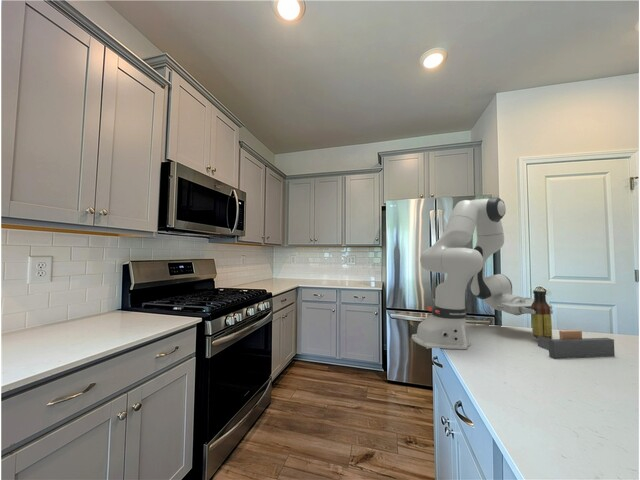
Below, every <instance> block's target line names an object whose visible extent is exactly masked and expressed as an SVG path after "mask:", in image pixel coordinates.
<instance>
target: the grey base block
mask: <svg viewBox="0 0 640 480" xmlns="http://www.w3.org/2000/svg"><path fill="white" fill-rule="evenodd" d="M537 346H538V347H540V348H542V349H545V350H548V356H549V358H552V359H554V360H556V359H558V360H559V359H581V358H582V359H583V358H585V359H587V358H588V359H589V358H608V357H609V358H610V357H615V353H616V352H615V339H613V338H611V337H590V338H589V337H588V338H587V337H586V338H583V337H582V339H560V338H556V339H553V338H552V339H550V338H547V337H544V336H538V339H537Z"/></svg>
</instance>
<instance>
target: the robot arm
mask: <svg viewBox="0 0 640 480" xmlns="http://www.w3.org/2000/svg"><path fill="white" fill-rule="evenodd" d="M506 209H507V208H506V204H505V202H504V200H503V199H501V198H500V197H489V198H477V199H471V200H469V199H464V200H461V201H458V202H457V203H456V205H455V206H454V207H453V209H452V211H451V213H450V215H449V218H448V219H447V223H446V226H445V227H444V228H445V229H444V231H443V233H442V234H441V236H440V237H439V238H438V239H437V241H436V242H435V243H434V244H433V245H431V246H430V247H428V248H427V249H425V250H423V251H422V253H421V255H420V258H419V259H420V260H419V262H420V265H421V267H422V268H423V270H426V271H429V272H432V273H436V274H437V273H439V274H446V278H445V281H442V282H441V283H439V284H438V285H436V287H435V291H434V292H435V304H434V307H432V306H430V305H428V306H427V307H426V310H427V311H428V312H431V314H430V315H429V316H427V317H426V318H425V319H424V320H422V321H421V322H420V323H418V326H417V329H416V333H413V334H412V335H411V339H412V341H414V342H415V343H417V344H418V345H420V346H422V347H425V348H427V349H444V350H445V349H449V350H468V347H469V346H470V345H471V342H470V338H469V335H468V330H467V308H466V290H467V286H468V284H469V282H470V287H469V288H470V291H471V294H472V295H473V296H474V297H476V298H478V299H480V300H483V302H484V303H485V305H487V306H488V307H489V308H492V309H494V310H497V311H500V312H504V313H507V314H511V315H512V316H521V315H525V314H526V315H529V314H530V315H531V314H536V310H534V309H531V305H532V303H533V302H534V298H532V297H531V298H530V297H523V296H519V295H513V284H512V280H511V279H509V277H507V276H506V275H504V274H502V273H497V274H493V275H489V276H486V262H487V260H488V259H489V258H490V257H491V256H492V255H494V254H495V253H497V252H498V251H499V250H500V249H501V248H503V245H504V244H505V234H504V228H503V224H502V219H503V217H504V216H505V215H506ZM475 231H476V244H475V246H474V248H470V247H469V248H468V247H464V246H467V245H468V244H469V243H470V242H471V241H472V240H473V236H474V232H475ZM547 304H548V305H549V306H550V314H551V315H553V314H554V310H553V305H552V304H550V303H547Z"/></svg>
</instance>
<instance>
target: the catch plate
mask: <svg viewBox="0 0 640 480" xmlns="http://www.w3.org/2000/svg"><path fill="white" fill-rule="evenodd" d="M558 333H559V339H582V338H583V331H582V330H578V329H572V330H571V329H570V330H567V329H566V330H559V331H558Z"/></svg>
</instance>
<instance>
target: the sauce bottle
mask: <svg viewBox="0 0 640 480" xmlns="http://www.w3.org/2000/svg"><path fill="white" fill-rule="evenodd" d="M532 293H533V299H534V302H533V303H532V305H531V309H534V310H536V314H530V315H531V326H532V327H531V328H532V336H533V338H535V339H537V340H538V336H544V337H547V338H550V339H553V329H552V328H553V327H552V314H550V306H549V305H548V304H549V303H548V302H547V300H546V299H547V298H546V295H547V291H546V290H543V289H542V290H541V289H534V290H533V291H532Z"/></svg>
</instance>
